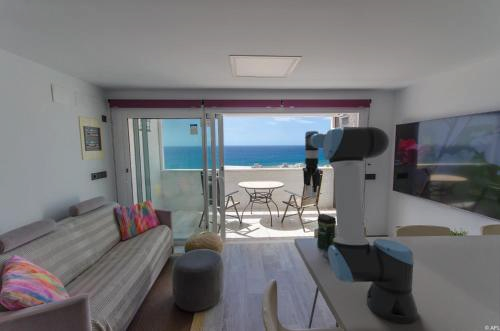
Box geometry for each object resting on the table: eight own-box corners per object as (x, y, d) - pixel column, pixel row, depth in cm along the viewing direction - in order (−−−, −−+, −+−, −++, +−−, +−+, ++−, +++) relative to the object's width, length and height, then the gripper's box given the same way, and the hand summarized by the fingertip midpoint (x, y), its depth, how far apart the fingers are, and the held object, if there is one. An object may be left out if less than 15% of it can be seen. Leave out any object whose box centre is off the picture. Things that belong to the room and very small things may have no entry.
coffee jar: (338, 248, 125) (338, 216, 124) (328, 252, 121) (329, 218, 120) (324, 242, 134) (324, 211, 132) (314, 245, 129) (315, 214, 128)
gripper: (327, 158, 128) (326, 198, 130) (306, 156, 142) (306, 193, 144) (317, 158, 125) (316, 200, 127) (297, 157, 139) (297, 195, 141)
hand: (311, 196), depth 136 cm, fingers open, 3 cm apart
